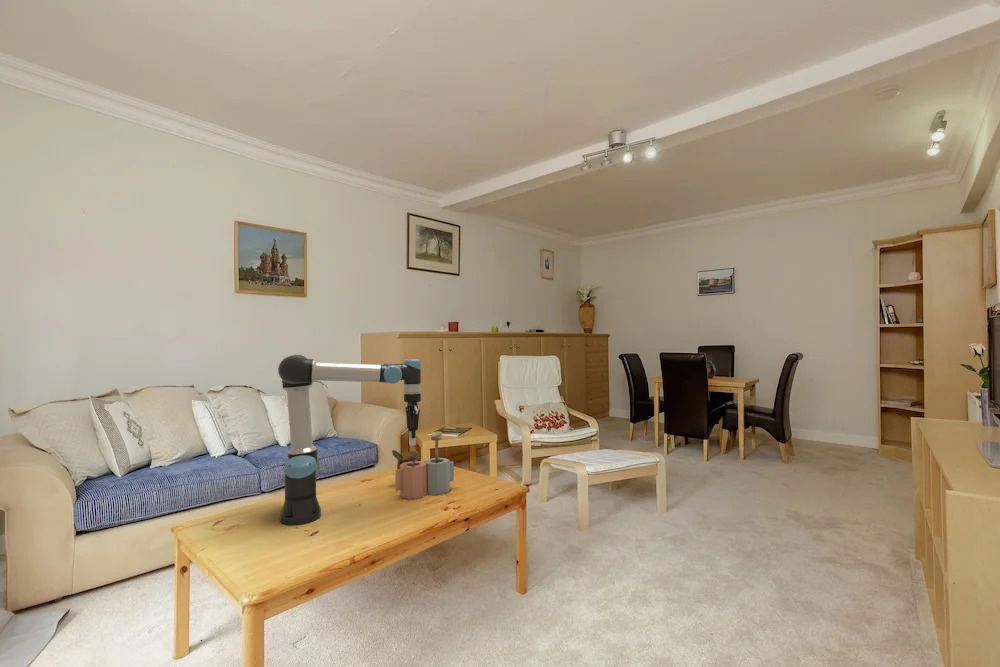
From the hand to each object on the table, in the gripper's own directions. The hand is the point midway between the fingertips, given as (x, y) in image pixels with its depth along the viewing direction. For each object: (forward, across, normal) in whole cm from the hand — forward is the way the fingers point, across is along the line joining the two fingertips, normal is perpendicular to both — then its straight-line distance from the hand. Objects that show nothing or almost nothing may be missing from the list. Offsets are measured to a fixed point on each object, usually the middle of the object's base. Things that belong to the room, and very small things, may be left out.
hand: (412, 445), depth 217 cm
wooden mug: (+23, +19, -2) cm, 30 cm away
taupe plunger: (+20, 0, 0) cm, 20 cm away
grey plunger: (+12, 0, -12) cm, 17 cm away
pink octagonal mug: (+23, 0, +1) cm, 23 cm away
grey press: (+23, 0, -13) cm, 26 cm away
